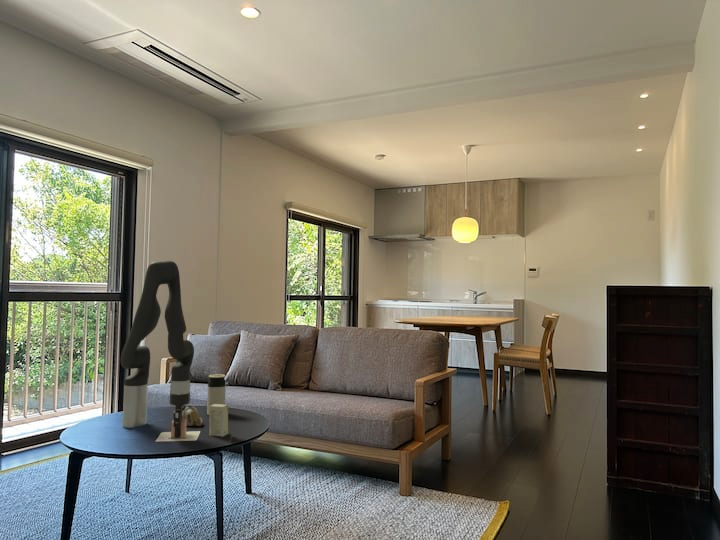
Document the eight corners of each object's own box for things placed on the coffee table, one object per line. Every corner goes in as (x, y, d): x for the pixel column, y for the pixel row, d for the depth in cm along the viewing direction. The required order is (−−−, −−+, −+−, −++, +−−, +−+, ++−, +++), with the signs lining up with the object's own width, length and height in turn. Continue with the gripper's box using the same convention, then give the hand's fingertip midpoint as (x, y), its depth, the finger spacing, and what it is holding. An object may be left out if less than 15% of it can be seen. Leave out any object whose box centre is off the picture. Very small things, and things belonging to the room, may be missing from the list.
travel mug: (218, 416, 241) (220, 377, 242) (203, 415, 243) (204, 376, 244) (227, 413, 249) (229, 374, 249) (213, 411, 251) (214, 373, 251)
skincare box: (228, 435, 212) (229, 404, 212) (223, 438, 207) (224, 406, 208) (213, 433, 213) (214, 403, 214) (208, 436, 209) (209, 405, 209)
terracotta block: (173, 434, 209) (173, 419, 209) (186, 434, 209) (186, 418, 210) (170, 438, 204) (171, 422, 204) (184, 437, 205) (184, 422, 205)
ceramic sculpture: (203, 400, 234) (203, 410, 219) (202, 420, 234) (202, 431, 220) (177, 401, 231) (176, 411, 216) (177, 421, 231) (175, 432, 217)
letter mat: (161, 433, 212) (161, 432, 212) (200, 432, 214) (200, 431, 214) (155, 443, 199) (155, 441, 199) (196, 441, 202) (196, 440, 202)
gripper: (173, 388, 214) (171, 430, 213) (166, 395, 199) (165, 440, 199) (192, 388, 215) (191, 430, 214) (187, 395, 201) (186, 440, 200)
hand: (178, 435), depth 207 cm, fingers closed on terracotta block, 5 cm apart
